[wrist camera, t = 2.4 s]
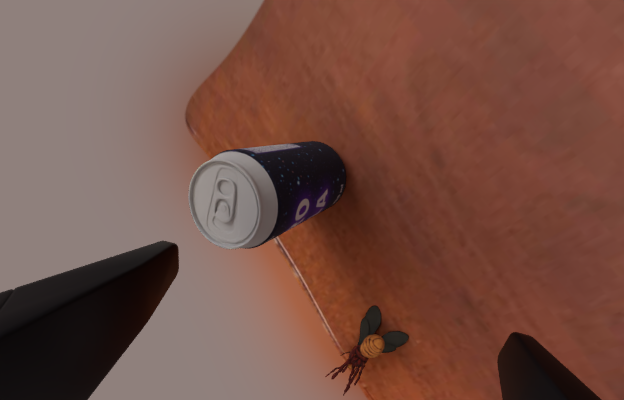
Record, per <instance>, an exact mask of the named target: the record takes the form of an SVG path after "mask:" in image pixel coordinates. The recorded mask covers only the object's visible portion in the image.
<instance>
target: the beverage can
mask: <svg viewBox="0 0 624 400" xmlns="http://www.w3.org/2000/svg"><path fill="white" fill-rule="evenodd" d="M345 184H346V172H345V167H344V164H343V162H342V160H341V158H340V157H339V155H338V154H337V153H336V152H335V151H334V150H333V149H332V148H331V147H329V146H328V145H326V144H324V143H321V142H315V141H311V142H301V143H291V144H282V145H272V146H262V147H253V148H243V149H234V150H227V151H223V152H221V153H219V154H217V155H216V156H215V157H213V158H212V159H211V160H210V161H207V162H205V163H204V164H202V165H201V166H200V167H199V168H198V169H197V170H196V172H195V173H194V175H193V177H192V179H191V182H190V187H189V196H188V197H189V206H190V211H191V214H192V217H193V220H194V222H195V224H196V226H197V227H198V229H199V230H200V232H201V233H202V234H203V235H204V236H205V237H206V238H207V239H208V240H209V241H211V242H212V243H213V244H215V245H217V246H219V247H222V248H226V249H237V248H254V247H258V246H260V245H262V244H264V243H266V242H268V241H269V240H271V239H273V238H275V237H277V236H278V235H280V234H282V233H284V232H286V231H287V230H289V229H291V228H293V227H295V226H296V225H298V224H300V223H302V222H304V221H306V220H307V219H309V218H311V217H313V216H315V215H316V214H318V213H320V212H322V211H324V210H325V209H327V208H329V207H331V206H332V205H334V204H335V203H336V202H337V201H338V200H339V199H340V197H341V196H342V194H343V191H344V189H345Z"/></svg>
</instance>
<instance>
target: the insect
mask: <svg viewBox="0 0 624 400" xmlns="http://www.w3.org/2000/svg"><path fill="white" fill-rule="evenodd" d="M380 322H381V313H380V310H379V308H378V307H377V306H372V307H371V308H370V309H369V310H368V312H367V313H366V316H365V318H363V319H362V321H361V326H360V338H359V342H358V345H357V346H355V347H354V348H353V349H352V351H351V352H347V353H350V354H349V359H348V360H347V361H346V362H345V363H344V364H343V365H342V366H341V367H338V368H335V369H334V370H332V371H331V372H330V373H332V372H334V371H335V370H336V369H339V370H338V372H336V373H335V374H334V375H333V376H332V379H334V378H335V377H336V376H337V375H338V373H339V372H341V371H342V370H343V371H342V373H343V372H344V371H345V370H346V369H347V367H348V368H349V369H352V371H351V374H350V377H349V383H348V385H347V387H346V389H345V391H344V394H345V393H346V392H347V391H348V389H349V388H350V384H351V383H352V382H353V380H354V377H355V376H356V375H357V373H358V371H359V368H360V367H361V366H362V367H361V370H360V372H359V377H358V379H357V380H356V382H355V383H354V385H356V383H357V382H358V380H359V379H360V375H361V373H362V369H363V368H364V367H365V363H366V362H367V360H368V358H373V357H377V356H379V355H380V354H381V353H387V352H392V351H394V350H396V348H397V347H399V346H401V345H403V344H404V343H406V341H407V340H408V335H407V334H405V333H403V332H399V331H397V332H388V333H387V334H385V335H384V336H382V337H381V336H379V335H376V334H375V335H373V334H374V333H375V331H376V330H377V329H378V327H379V325H380ZM343 354H345V353H343ZM343 354H342V355H343ZM345 366H346V367H345ZM357 366H358V368H357ZM344 367H345V368H344ZM355 367H356V368H357V370H356V369H355V370H356V372H355V370H354V368H355ZM343 368H344V369H343ZM354 372H355V373H354ZM353 374H354V375H353ZM328 375H329V374H328ZM328 375H327V376H328ZM352 375H353V377H352V378H351V376H352ZM327 376H326V377H327ZM344 394H343V395H344Z"/></svg>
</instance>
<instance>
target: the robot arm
mask: <svg viewBox="0 0 624 400" xmlns="http://www.w3.org/2000/svg"><path fill="white" fill-rule="evenodd" d="M178 258H179V257H178V246H177V245H176V244H175V243H171V242H167V241H160V242H157V243H154V244H151V245H148V246H145V247H141V248H139V249H135V250H132V251H129V252H126V253H123V254H120V255H116V256H114V257H110V258H107V259H104V260H101V261H98V262H95V263H92V264H88V265H85V266H83V267H79V268H76V269H73V270H70V271H67V272H64V273H61V274H57V275H54V276H51V277H48V278H45V279H42V280H39V281H36V282H33V283H30V284H26V285H23V286H20V287H17V288H15V289H14V290H12V289H11V290H8V291H5V292H1V293H0V400H88V398H89V397H90V396H91V394H92V393H93V392H94V390H95V389H96V388H97V387H98V385H99V384H100V383H101V381H102V380H103V379H104V378H105V376H106V375H107V374H108V372H109V371H110V370H111V369H112V367H113V366H114V365H115V363H116V362H117V360H119V358H120V357H121V356H122V354H123V353H124V352H125V351H126V349H127V348H128V347H129V345H130V344H131V343H132V341H133V340H134V339H135V337H136V336H137V335H138V334H139V332H140V331H141V330H142V329H143V327H144V326H145V325H146V323H147V322H148V320H149V319H150V317H151V316H152V314H153V313H154V311H155V309H156V308H157V306H158V305H159V303H160V301H161V300H162V298H163V297H164V295H165V293H166V292H167V290H168V288H169V287H170V285H171V284H172V282H173V280H174V279H175V277H176V275H177V273H178V269H179V259H178ZM498 370H499V377H500V384H501V391H502V398H503V400H601V399H600V398H599V397H598V396H597V395H596V394H595V393H593V392H592V391H591V390H590V389H589V388H588V387H587V386H586V385H585V384H584V383H582V382H581V381H580V380H579V379H578V378H577V377H576V376H575V375H574V374H573V373H571V372H570V371H569V370H568V369H567V368H566V367H565V366H564V365H563V364H562V363H560V362H559V361H558V360H557V359H556V358H555V357H554V356H553V355H552V354H551V353H549V352H548V351H547V350H546V349H545V348H544V347H543V346H542V345H541V344H540V343H538V342H537V341H536V340H535V339H534V338H533V337H531V336H529V335H525V334H521V333H517V332H513V333H511V334H510V336H509V337H508V339H507V341H506V342H505V344H504V346H503V348H502V349H501V351H500V353H499V355H498Z"/></svg>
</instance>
